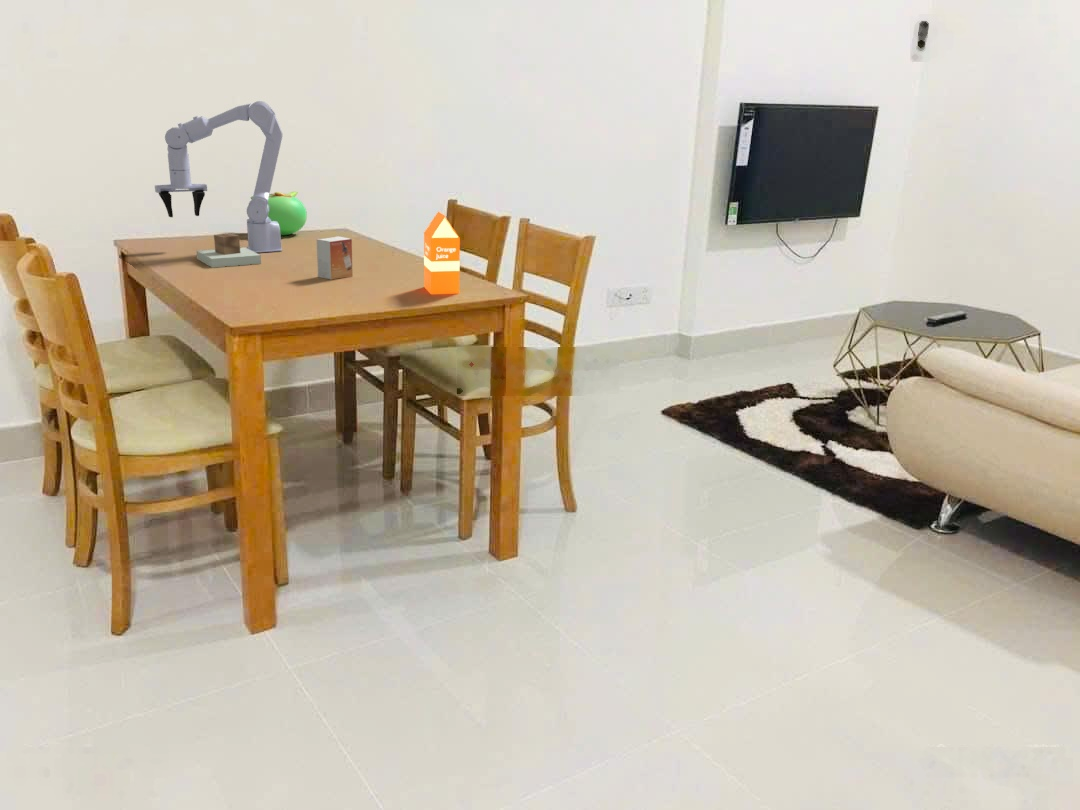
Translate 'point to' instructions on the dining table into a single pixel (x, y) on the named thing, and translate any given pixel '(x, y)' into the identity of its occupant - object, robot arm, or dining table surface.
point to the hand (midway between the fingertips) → (184, 216)
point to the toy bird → (287, 212)
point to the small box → (334, 257)
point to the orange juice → (441, 257)
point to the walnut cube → (227, 244)
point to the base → (228, 258)
